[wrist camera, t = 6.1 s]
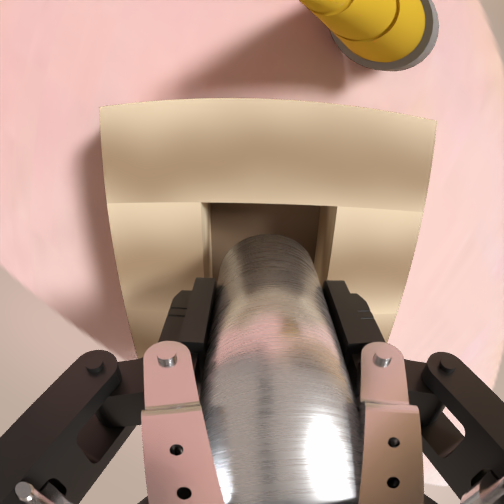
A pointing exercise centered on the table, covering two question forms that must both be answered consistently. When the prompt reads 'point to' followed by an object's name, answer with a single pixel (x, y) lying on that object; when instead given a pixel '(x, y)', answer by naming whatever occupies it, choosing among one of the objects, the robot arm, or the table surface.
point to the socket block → (261, 194)
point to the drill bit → (380, 30)
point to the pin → (278, 382)
